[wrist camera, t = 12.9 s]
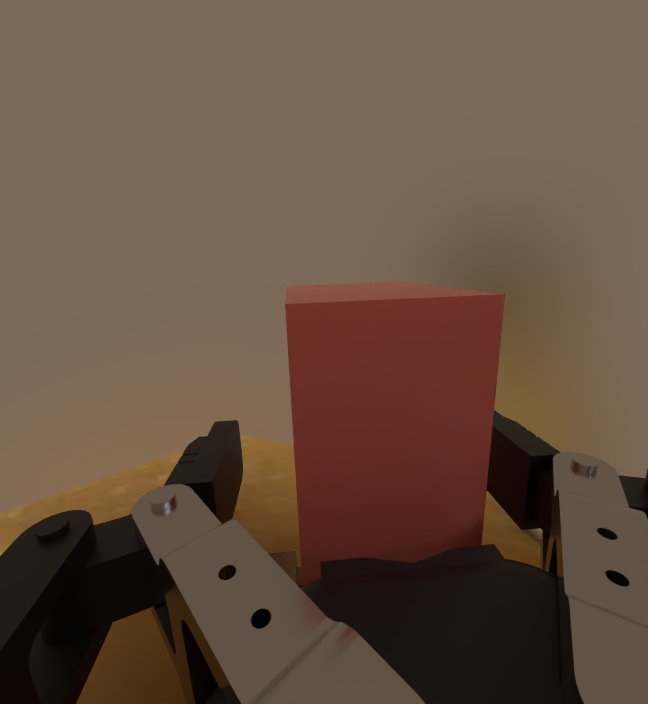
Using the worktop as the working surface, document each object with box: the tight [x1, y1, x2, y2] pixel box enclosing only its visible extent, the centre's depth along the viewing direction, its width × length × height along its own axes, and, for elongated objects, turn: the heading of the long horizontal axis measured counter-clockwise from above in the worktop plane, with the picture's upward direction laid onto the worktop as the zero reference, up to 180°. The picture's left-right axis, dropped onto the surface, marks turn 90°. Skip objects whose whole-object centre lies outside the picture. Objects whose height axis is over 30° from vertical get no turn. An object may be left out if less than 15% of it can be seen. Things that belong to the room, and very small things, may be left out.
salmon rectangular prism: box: [285, 282, 505, 586], centre depth 11 cm, size 4×6×16 cm, turn 6°
